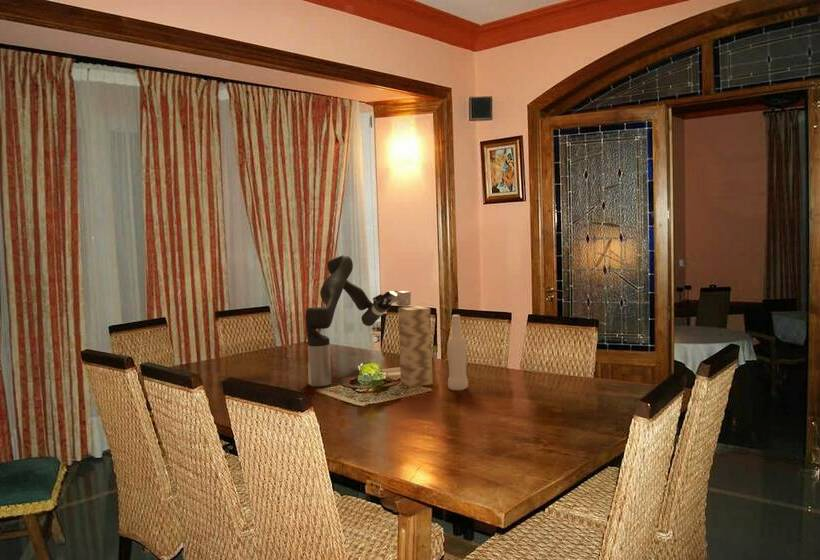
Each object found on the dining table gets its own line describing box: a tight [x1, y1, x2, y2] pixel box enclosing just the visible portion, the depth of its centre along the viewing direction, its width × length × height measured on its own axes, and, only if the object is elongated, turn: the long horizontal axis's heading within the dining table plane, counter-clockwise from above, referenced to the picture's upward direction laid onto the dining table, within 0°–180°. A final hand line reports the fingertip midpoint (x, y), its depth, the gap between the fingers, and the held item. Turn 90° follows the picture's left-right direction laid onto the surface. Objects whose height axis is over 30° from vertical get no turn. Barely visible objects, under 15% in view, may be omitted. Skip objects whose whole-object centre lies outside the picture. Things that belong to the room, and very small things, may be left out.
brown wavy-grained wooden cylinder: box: [397, 305, 433, 387], centre depth 272 cm, size 10×11×32 cm
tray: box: [380, 366, 401, 378], centre depth 287 cm, size 14×14×2 cm
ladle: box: [385, 290, 412, 307], centre depth 289 cm, size 6×21×6 cm, turn 23°
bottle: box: [446, 314, 469, 391], centre depth 260 cm, size 8×8×30 cm
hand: (392, 292), depth 294 cm, fingers closed on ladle, 3 cm apart
